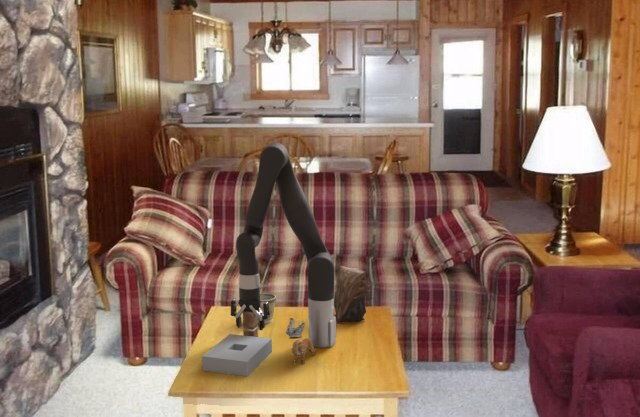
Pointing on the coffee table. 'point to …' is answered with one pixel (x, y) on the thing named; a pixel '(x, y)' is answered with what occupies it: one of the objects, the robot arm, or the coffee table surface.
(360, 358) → the coffee table surface
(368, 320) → the coffee table surface
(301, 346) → the lion figurine
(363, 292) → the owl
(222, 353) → the grey rectangular block
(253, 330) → the walnut peg
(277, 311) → the coffee table surface
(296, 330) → the driftwood
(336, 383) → the coffee table surface
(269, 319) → the ceramic cup
